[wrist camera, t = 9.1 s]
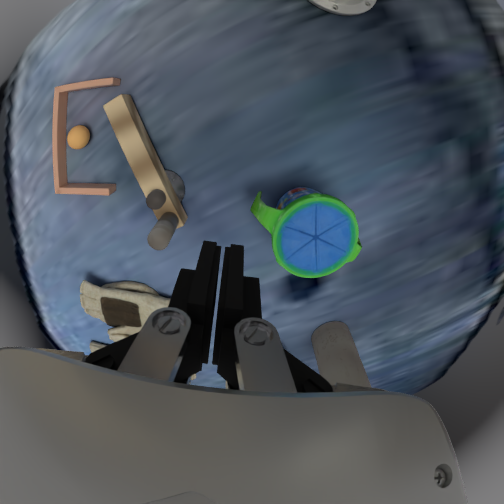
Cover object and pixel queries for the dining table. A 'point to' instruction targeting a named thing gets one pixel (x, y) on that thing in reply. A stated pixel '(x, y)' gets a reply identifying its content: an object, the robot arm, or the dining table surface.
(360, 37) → the dining table surface
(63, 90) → the open frame
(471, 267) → the dining table surface
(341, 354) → the thermos bottle
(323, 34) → the dining table surface
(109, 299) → the pair of gloves
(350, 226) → the snack cup
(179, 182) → the pivot base
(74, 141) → the ball
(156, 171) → the lever
